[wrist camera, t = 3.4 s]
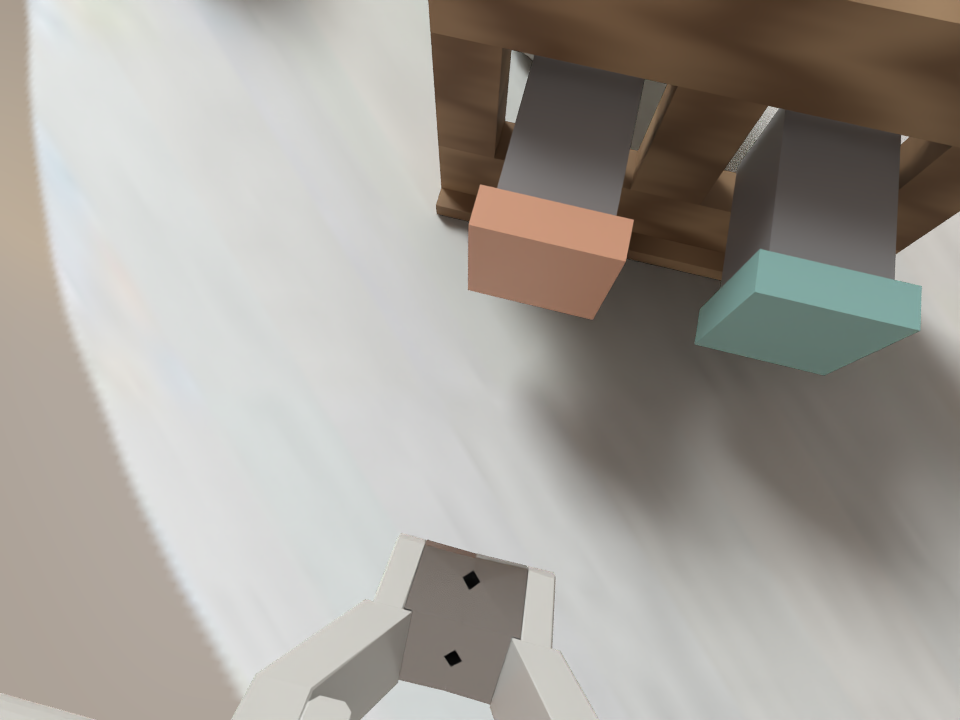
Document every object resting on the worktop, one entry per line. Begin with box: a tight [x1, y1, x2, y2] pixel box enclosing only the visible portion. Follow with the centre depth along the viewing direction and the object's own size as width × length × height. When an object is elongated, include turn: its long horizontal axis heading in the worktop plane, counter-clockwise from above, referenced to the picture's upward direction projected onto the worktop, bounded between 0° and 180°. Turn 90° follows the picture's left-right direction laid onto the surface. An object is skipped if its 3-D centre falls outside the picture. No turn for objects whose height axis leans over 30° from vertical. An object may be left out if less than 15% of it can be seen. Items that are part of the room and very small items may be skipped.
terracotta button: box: [468, 55, 645, 320], centre depth 22 cm, size 5×8×5 cm, turn 166°
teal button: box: [695, 108, 922, 375], centre depth 21 cm, size 5×8×5 cm, turn 166°
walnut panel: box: [428, 0, 960, 280], centre depth 23 cm, size 20×5×14 cm, turn 76°
